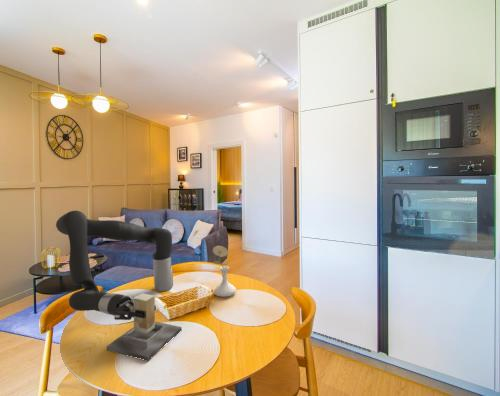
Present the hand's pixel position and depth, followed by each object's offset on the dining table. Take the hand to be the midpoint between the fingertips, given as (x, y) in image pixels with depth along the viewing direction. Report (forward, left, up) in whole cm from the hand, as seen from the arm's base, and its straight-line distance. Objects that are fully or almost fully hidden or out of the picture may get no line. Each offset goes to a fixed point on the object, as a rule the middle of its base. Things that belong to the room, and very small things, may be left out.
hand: (150, 311), depth 92 cm
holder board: (0, -3, -11) cm, 11 cm away
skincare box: (0, -3, -7) cm, 8 cm away
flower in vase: (-44, +7, -11) cm, 46 cm away
